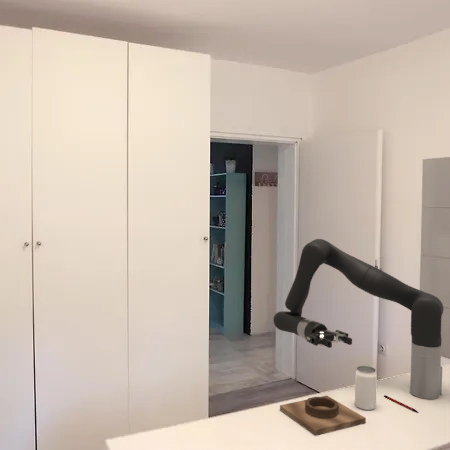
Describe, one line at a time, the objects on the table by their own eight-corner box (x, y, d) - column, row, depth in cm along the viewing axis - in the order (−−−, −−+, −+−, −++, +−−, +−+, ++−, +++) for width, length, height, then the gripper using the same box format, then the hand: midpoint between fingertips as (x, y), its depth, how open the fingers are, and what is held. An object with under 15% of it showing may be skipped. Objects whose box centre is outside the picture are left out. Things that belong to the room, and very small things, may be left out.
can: (373, 402, 159) (374, 365, 158) (377, 411, 153) (378, 373, 152) (353, 401, 160) (354, 365, 159) (356, 410, 153) (357, 372, 152)
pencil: (417, 414, 151) (418, 411, 151) (383, 398, 163) (383, 395, 163) (419, 414, 152) (420, 410, 152) (385, 397, 164) (385, 394, 164)
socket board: (326, 399, 161) (327, 387, 160) (365, 422, 144) (365, 409, 144) (279, 410, 153) (280, 397, 152) (315, 435, 136) (315, 421, 136)
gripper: (296, 322, 177) (324, 334, 162) (328, 319, 183) (358, 330, 169) (295, 343, 177) (323, 357, 163) (327, 339, 184) (357, 351, 169)
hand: (341, 343), depth 166 cm, fingers open, 8 cm apart
